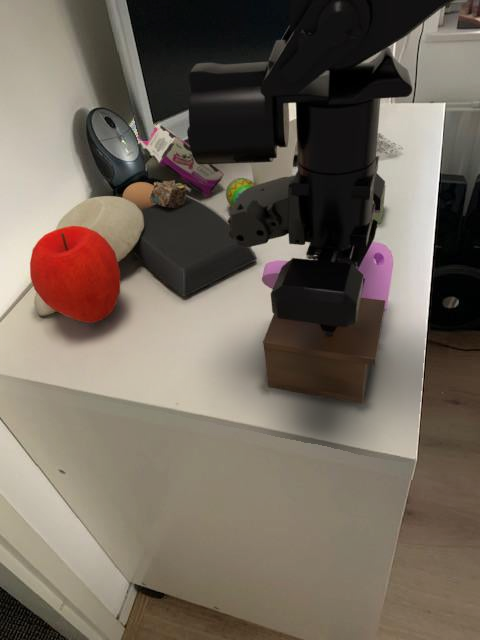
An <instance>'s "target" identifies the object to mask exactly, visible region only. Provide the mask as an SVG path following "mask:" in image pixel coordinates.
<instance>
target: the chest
mask: <svg viewBox="0 0 480 640" xmlns="http://www.w3.org/2000/svg"><path fill="white" fill-rule="evenodd" d="M263 354H264V355H263V356H264V362H265V372H266V382H267V387H268V388H273V389H279V390H284V391H290V392H296V393H301V394H307V395H312V396H318V397H322V398H323V397H324V398H329V399H333V400H334V399H335V400H341V401H344V402H350V403H351V402H352V403H356V404H363V402H364V395H365V392H366V391H365V390H366V386H367V385H366V384H367V379H368V375H369V374H368V373H369V368H370V364H365V363H359V362H352V361H346V360H340V359H333V358H327V357H321V356H314V355H308V354H301V353H295V352H289V351H282V350H276V349H270V348H264V347H263Z"/></svg>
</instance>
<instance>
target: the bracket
mask: <svg viewBox="0 0 480 640" xmlns="http://www.w3.org/2000/svg"><path fill="white" fill-rule="evenodd" d="M289 261H290V260H283V259H280V260H272V261H269V262H267V263H266V264H265V265H264V268H263V273H262V277H261V281H262V283H263V285H264V286H266V287H267V288H269V289H271V290H272V289H273V287H274V285H275V282H276V280H277V278H278V275H279V273H280V270H281V268H282V266H283V265H285V264H286V263H287V262H289ZM393 268H394V256H393V254H392V252H391V250H390V249H389V248H388V247H387V245H385V244H384V243H382V242H377V241H375V242H374V241H373V242H372V244H371V246H370V248H369V250H368V251H367V253H366V255H365V257H364V259H363V261H362V263H361V265H360V267H359V269H358V270H359V271H360V272H361V273H362V274H363V278H365V282H364V287H363V291H362V295H361V298H368V299H377V300H385V308H384V311H386V310H387V308H388V304H389V303H388V302H389V296H390V288H391V281H392V276H393Z"/></svg>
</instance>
